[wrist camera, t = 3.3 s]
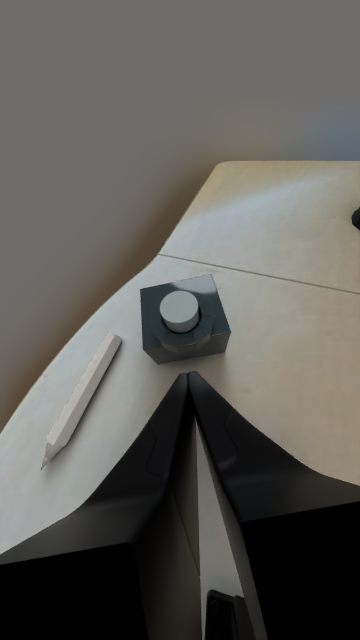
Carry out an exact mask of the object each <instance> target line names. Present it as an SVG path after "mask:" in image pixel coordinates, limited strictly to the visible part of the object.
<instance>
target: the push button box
mask: <svg viewBox="0 0 360 640" xmlns="http://www.w3.org/2000/svg"><path fill="white" fill-rule="evenodd" d="M175 291H186V292H189V293H191V294H192V295H194V297H195V298H196V299H197V302H198V310H199V320H198V323H197V324H196V326H195V327H194V328H193V329H191V330H190V331H188V332H184V333H177V332H174V331H172V330H170V329H169V328H168V327H167V326H166V324H165V322H164V320H163V317H162V315H161V313H160V305H161V302H162V300H163V299H164V298H165V297H166V296H167V295H168V294H170V293H172V292H175ZM140 295H141V317H142V339H143V350H144V351H145V352H146V353H147V354H148V355H149V356H150V357H151V358H152V359H153V360H154V361H155V362H156V363H157V364H158V365H159V364H164V363H169V362H174V361H180V360H185V359H190V358H195V357H201V356H206V355H211V354H216V353H221V352H225V350H226V347H227V343H228V340H229V337H230V334H231V331H230V328H229V325H228V322H227V319H226V316H225V313H224V310H223V307H222V304H221V301H220V298H219V295H218V292H217V289H216V286H215V283H214V280H213V277H212V274H210V275H205V276H200V277H195V278H191V279H186V280H181V281H176V282H172V283H167V284H162V285H158V286H153V287H148V288H143V289H140Z"/></svg>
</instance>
